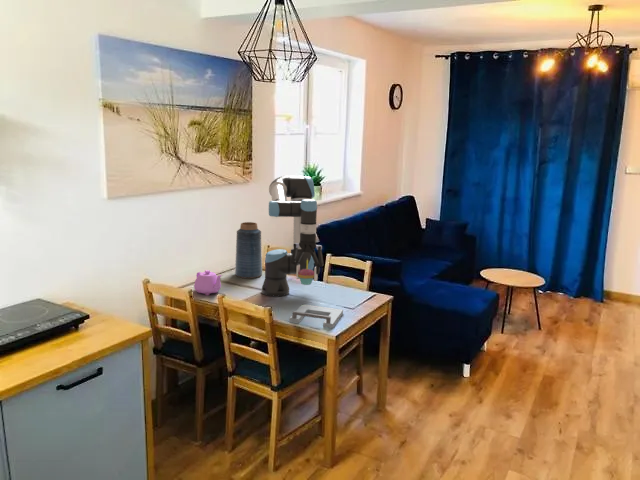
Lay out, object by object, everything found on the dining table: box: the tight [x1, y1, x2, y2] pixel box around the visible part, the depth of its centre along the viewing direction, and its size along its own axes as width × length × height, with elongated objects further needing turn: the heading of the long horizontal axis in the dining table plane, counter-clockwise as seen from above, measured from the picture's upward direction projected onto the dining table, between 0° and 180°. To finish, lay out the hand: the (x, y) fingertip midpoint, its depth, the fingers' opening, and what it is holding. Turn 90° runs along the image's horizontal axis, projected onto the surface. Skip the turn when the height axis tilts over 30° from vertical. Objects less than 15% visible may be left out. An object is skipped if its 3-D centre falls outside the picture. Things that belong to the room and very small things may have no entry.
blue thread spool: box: [234, 221, 263, 279], centre depth 314 cm, size 16×16×32 cm
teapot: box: [193, 269, 223, 296], centre depth 281 cm, size 20×14×12 cm
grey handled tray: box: [288, 304, 344, 329], centre depth 251 cm, size 21×20×5 cm
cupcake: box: [298, 258, 314, 286], centre depth 249 cm, size 9×8×12 cm
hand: (306, 279), depth 250 cm, fingers closed on cupcake, 8 cm apart
